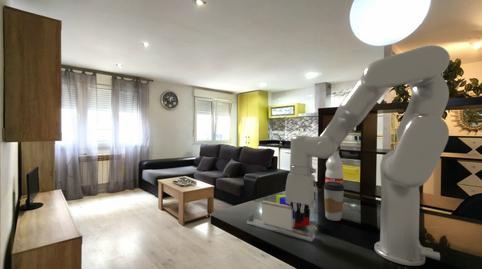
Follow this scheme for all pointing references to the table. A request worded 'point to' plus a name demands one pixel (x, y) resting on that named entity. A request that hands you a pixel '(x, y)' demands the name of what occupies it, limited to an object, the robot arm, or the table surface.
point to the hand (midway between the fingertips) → (299, 222)
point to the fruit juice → (334, 168)
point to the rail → (282, 229)
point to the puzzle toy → (281, 200)
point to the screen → (277, 214)
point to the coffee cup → (333, 200)
